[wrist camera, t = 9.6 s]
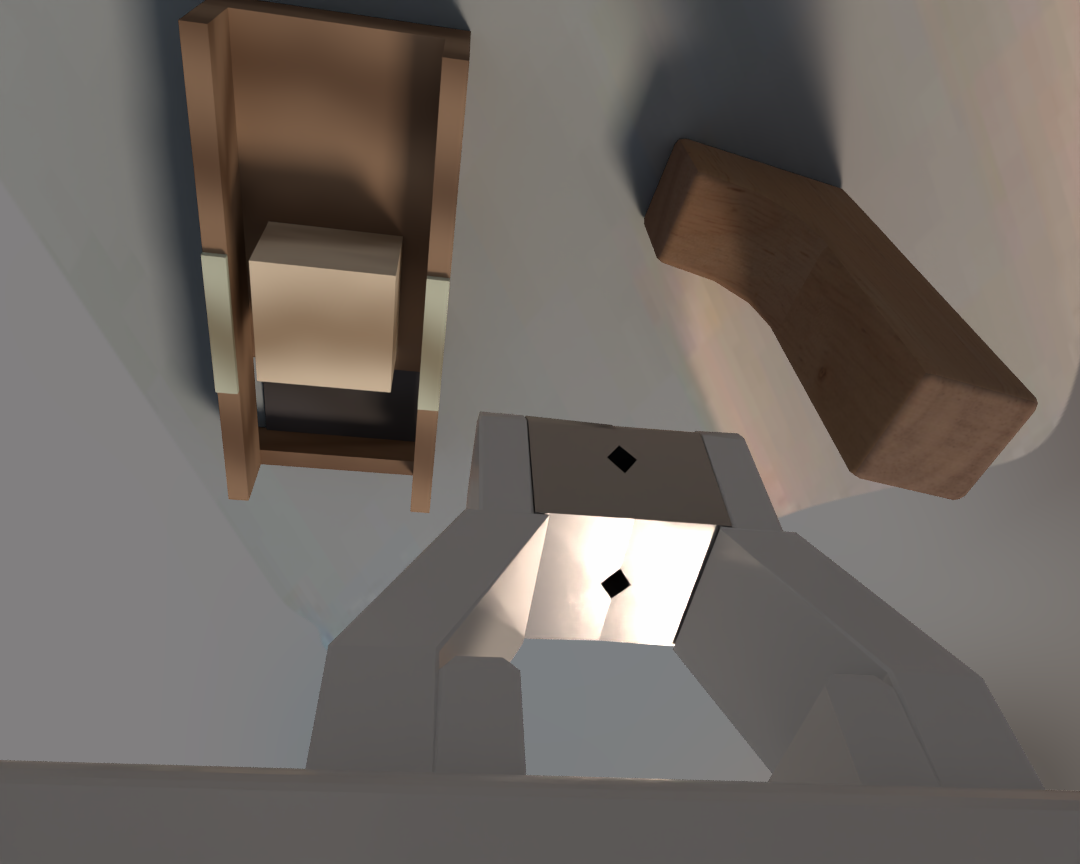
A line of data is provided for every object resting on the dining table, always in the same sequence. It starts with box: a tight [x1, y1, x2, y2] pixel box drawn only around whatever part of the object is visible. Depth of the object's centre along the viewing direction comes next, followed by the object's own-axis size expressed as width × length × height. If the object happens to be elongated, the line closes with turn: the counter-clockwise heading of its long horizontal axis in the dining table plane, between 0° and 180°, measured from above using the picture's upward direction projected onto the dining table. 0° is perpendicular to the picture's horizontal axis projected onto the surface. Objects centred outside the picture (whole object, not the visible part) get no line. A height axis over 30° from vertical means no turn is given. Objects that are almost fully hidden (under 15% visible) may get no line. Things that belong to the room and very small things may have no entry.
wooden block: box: [644, 139, 1038, 500], centre depth 33 cm, size 9×4×18 cm, turn 72°
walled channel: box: [178, 0, 471, 513], centre depth 39 cm, size 23×10×5 cm, turn 172°
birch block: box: [249, 222, 403, 392], centre depth 38 cm, size 6×6×4 cm
